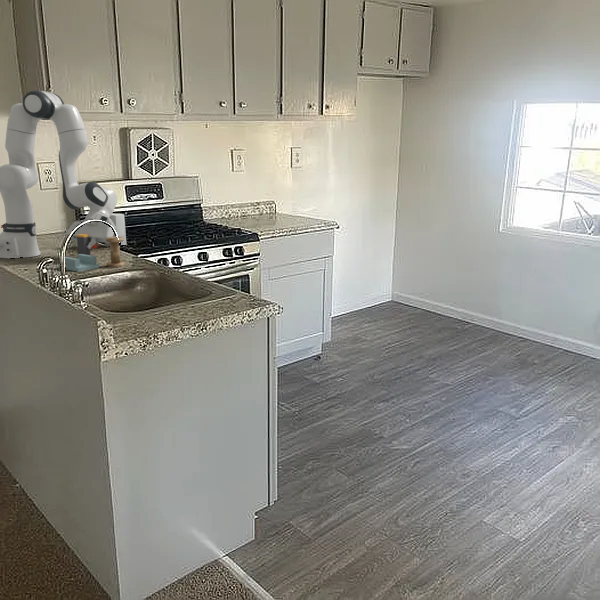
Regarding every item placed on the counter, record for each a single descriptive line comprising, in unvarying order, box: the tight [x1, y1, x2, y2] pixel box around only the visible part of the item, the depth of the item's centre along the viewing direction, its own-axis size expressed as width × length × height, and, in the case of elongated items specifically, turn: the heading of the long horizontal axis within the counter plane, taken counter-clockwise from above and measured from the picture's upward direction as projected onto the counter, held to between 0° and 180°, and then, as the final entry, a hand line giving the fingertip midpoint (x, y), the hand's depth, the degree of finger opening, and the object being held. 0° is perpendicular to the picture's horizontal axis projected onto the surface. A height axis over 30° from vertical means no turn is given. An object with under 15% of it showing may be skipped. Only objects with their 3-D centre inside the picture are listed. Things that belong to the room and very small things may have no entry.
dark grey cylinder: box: [76, 234, 91, 255], centre depth 257 cm, size 4×4×11 cm
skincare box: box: [104, 213, 127, 247], centre depth 296 cm, size 8×7×16 cm
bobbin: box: [105, 237, 126, 268], centre depth 249 cm, size 7×7×11 cm
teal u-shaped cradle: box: [57, 253, 100, 273], centre depth 244 cm, size 12×10×4 cm
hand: (82, 247), depth 256 cm, fingers closed on dark grey cylinder, 3 cm apart
